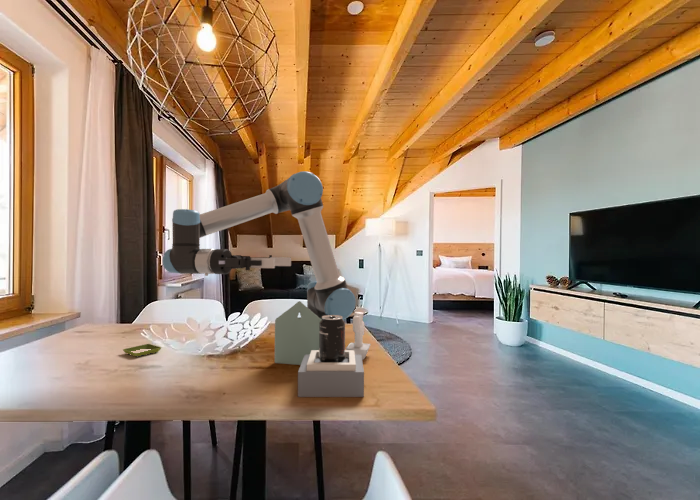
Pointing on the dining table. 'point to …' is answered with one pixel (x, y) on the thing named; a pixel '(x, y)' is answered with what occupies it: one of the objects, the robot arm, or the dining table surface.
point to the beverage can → (332, 339)
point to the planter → (296, 334)
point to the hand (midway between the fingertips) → (283, 262)
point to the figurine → (358, 336)
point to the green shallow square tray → (146, 346)
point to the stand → (331, 376)
